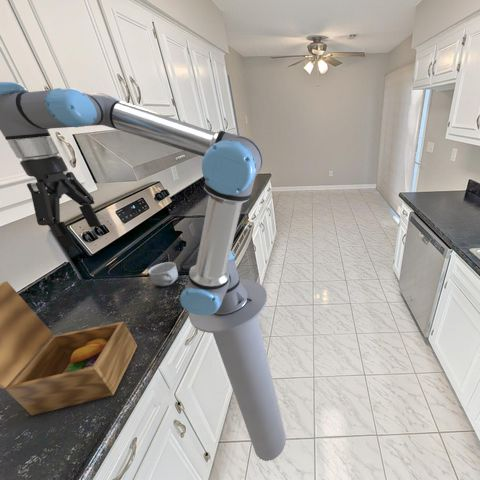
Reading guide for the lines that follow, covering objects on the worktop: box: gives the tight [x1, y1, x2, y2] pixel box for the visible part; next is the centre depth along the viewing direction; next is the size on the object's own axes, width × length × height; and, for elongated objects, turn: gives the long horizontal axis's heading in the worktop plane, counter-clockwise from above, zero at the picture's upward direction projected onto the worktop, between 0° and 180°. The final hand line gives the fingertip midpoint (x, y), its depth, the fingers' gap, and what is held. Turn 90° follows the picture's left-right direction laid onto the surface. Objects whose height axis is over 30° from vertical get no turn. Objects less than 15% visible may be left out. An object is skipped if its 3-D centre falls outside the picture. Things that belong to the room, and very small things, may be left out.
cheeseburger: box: [67, 339, 108, 372], centre depth 74 cm, size 10×11×10 cm
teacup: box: [147, 261, 179, 287], centre depth 113 cm, size 14×11×8 cm
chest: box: [4, 321, 138, 416], centre depth 72 cm, size 19×17×11 cm
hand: (83, 235), depth 71 cm, fingers open, 13 cm apart
